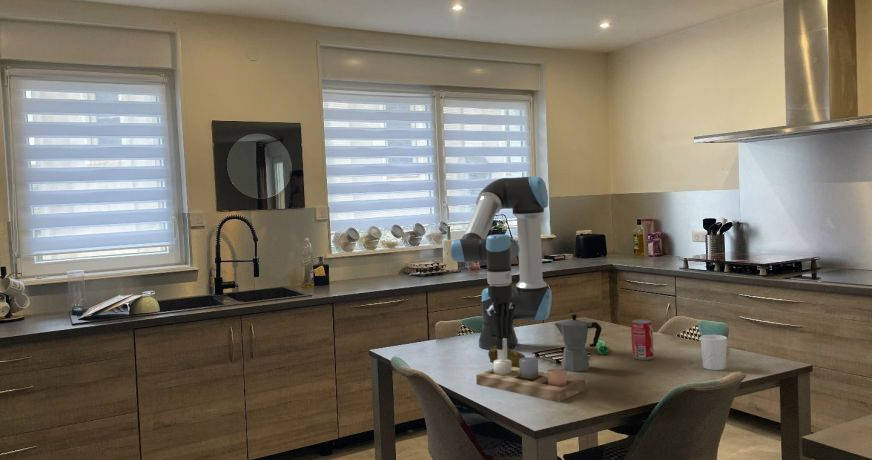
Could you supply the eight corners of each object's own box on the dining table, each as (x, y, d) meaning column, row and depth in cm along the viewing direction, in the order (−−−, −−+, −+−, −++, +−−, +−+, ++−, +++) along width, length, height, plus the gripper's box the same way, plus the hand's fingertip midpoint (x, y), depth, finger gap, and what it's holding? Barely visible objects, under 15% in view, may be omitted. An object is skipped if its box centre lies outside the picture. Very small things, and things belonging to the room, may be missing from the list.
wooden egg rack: (476, 384, 207) (476, 374, 206) (503, 374, 217) (503, 365, 217) (559, 401, 186) (559, 391, 186) (585, 389, 196) (584, 379, 196)
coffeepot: (552, 370, 219) (551, 316, 218) (558, 363, 228) (557, 311, 227) (600, 373, 213) (599, 317, 212) (604, 366, 222) (603, 312, 221)
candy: (592, 345, 249) (598, 336, 249) (600, 350, 249) (606, 341, 249) (596, 352, 237) (602, 343, 237) (604, 358, 237) (611, 348, 237)
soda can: (654, 360, 226) (654, 322, 226) (632, 360, 228) (632, 322, 227) (652, 355, 233) (651, 318, 233) (631, 355, 235) (630, 318, 234)
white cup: (715, 372, 210) (715, 340, 209) (695, 366, 217) (695, 336, 216) (732, 368, 213) (732, 337, 213) (712, 363, 220) (711, 333, 220)
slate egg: (516, 376, 201) (515, 360, 201) (526, 372, 205) (526, 356, 205) (531, 379, 197) (530, 362, 197) (542, 375, 201) (541, 358, 201)
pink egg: (544, 388, 194) (543, 371, 194) (554, 384, 199) (554, 367, 198) (560, 391, 191) (560, 374, 190) (570, 387, 195) (570, 370, 194)
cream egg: (490, 377, 208) (489, 362, 208) (501, 373, 212) (500, 358, 212) (504, 380, 204) (504, 364, 204) (515, 376, 208) (514, 360, 208)
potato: (528, 371, 219) (527, 347, 219) (489, 372, 219) (488, 348, 219) (525, 364, 227) (524, 341, 227) (487, 366, 228) (487, 343, 227)
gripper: (496, 288, 199) (499, 365, 201) (521, 282, 209) (524, 356, 210) (477, 286, 205) (480, 361, 206) (502, 280, 214) (505, 353, 215)
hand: (502, 358), depth 208 cm, fingers closed
